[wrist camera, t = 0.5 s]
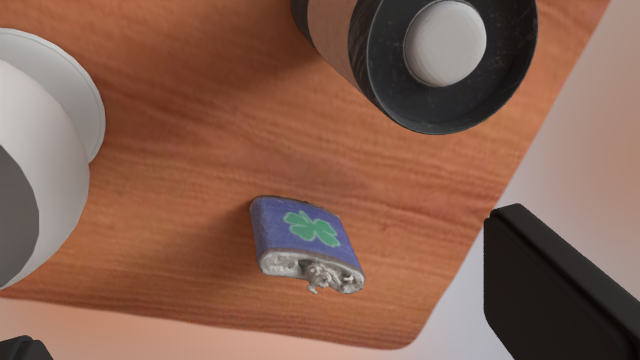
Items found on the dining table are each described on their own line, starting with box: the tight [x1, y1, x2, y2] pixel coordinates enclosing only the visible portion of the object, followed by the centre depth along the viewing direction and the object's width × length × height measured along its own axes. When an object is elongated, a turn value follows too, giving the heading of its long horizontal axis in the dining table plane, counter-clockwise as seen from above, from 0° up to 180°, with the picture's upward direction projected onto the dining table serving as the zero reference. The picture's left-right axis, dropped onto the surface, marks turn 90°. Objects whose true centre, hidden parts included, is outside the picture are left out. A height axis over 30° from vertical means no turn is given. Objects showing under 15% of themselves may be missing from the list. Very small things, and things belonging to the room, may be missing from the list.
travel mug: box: [291, 0, 538, 135], centre depth 27 cm, size 8×8×20 cm
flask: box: [249, 195, 365, 294], centre depth 39 cm, size 9×3×11 cm, turn 66°
